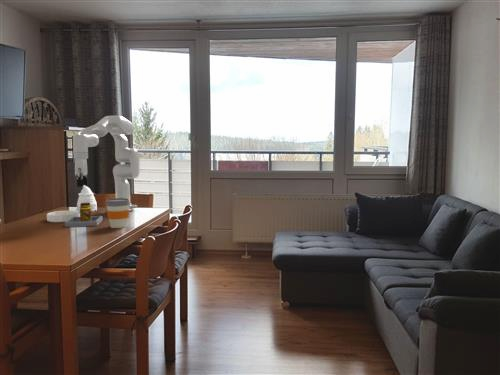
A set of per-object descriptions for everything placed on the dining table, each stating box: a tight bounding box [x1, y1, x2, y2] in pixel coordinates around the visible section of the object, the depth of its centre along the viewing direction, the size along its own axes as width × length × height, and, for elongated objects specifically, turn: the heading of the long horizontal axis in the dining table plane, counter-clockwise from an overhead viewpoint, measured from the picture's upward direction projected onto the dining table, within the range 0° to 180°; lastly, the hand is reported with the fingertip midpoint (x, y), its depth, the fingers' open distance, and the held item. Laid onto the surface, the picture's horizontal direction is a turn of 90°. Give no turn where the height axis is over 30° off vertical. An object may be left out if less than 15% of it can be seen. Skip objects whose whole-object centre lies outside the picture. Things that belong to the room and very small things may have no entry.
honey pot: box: [76, 185, 98, 213], centre depth 286 cm, size 13×13×18 cm
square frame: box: [64, 215, 104, 228], centre depth 241 cm, size 17×17×2 cm
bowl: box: [46, 210, 80, 223], centre depth 254 cm, size 17×17×4 cm
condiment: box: [79, 203, 92, 222], centre depth 240 cm, size 7×8×12 cm
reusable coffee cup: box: [105, 197, 131, 229], centre depth 231 cm, size 13×13×15 cm
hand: (82, 185), depth 238 cm, fingers open, 9 cm apart
